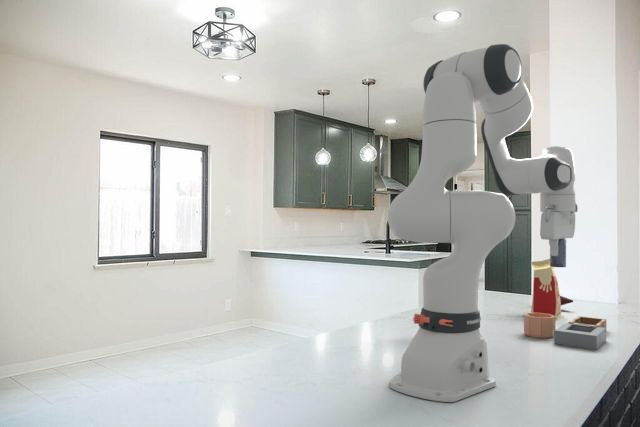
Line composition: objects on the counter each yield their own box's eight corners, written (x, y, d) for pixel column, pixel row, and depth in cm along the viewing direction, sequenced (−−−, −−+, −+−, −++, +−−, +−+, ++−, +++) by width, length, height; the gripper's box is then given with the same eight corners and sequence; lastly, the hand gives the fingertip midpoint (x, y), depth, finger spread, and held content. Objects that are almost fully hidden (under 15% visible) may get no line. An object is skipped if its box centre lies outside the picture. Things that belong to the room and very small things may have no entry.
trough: (598, 338, 136) (597, 326, 137) (568, 334, 141) (568, 322, 141) (606, 330, 146) (606, 319, 146) (578, 327, 151) (578, 316, 151)
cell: (563, 267, 134) (563, 236, 134) (548, 266, 137) (548, 235, 137) (567, 266, 137) (567, 235, 137) (552, 265, 140) (552, 235, 140)
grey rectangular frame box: (596, 349, 124) (596, 334, 124) (554, 343, 131) (554, 328, 131) (605, 340, 134) (605, 326, 134) (565, 335, 140) (565, 321, 140)
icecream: (577, 292, 179) (537, 292, 191) (568, 289, 175) (528, 288, 186) (577, 312, 178) (536, 310, 189) (568, 309, 173) (527, 307, 184)
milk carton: (561, 315, 170) (560, 257, 171) (557, 319, 163) (557, 259, 163) (532, 312, 175) (532, 256, 176) (528, 316, 168) (527, 257, 168)
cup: (550, 339, 135) (550, 319, 135) (521, 335, 140) (520, 315, 140) (557, 334, 141) (557, 314, 141) (529, 330, 146) (529, 311, 146)
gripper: (559, 204, 127) (559, 257, 127) (579, 206, 143) (579, 253, 142) (533, 205, 131) (534, 256, 131) (555, 206, 147) (556, 253, 147)
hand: (557, 255), depth 137 cm, fingers closed on cell, 4 cm apart
